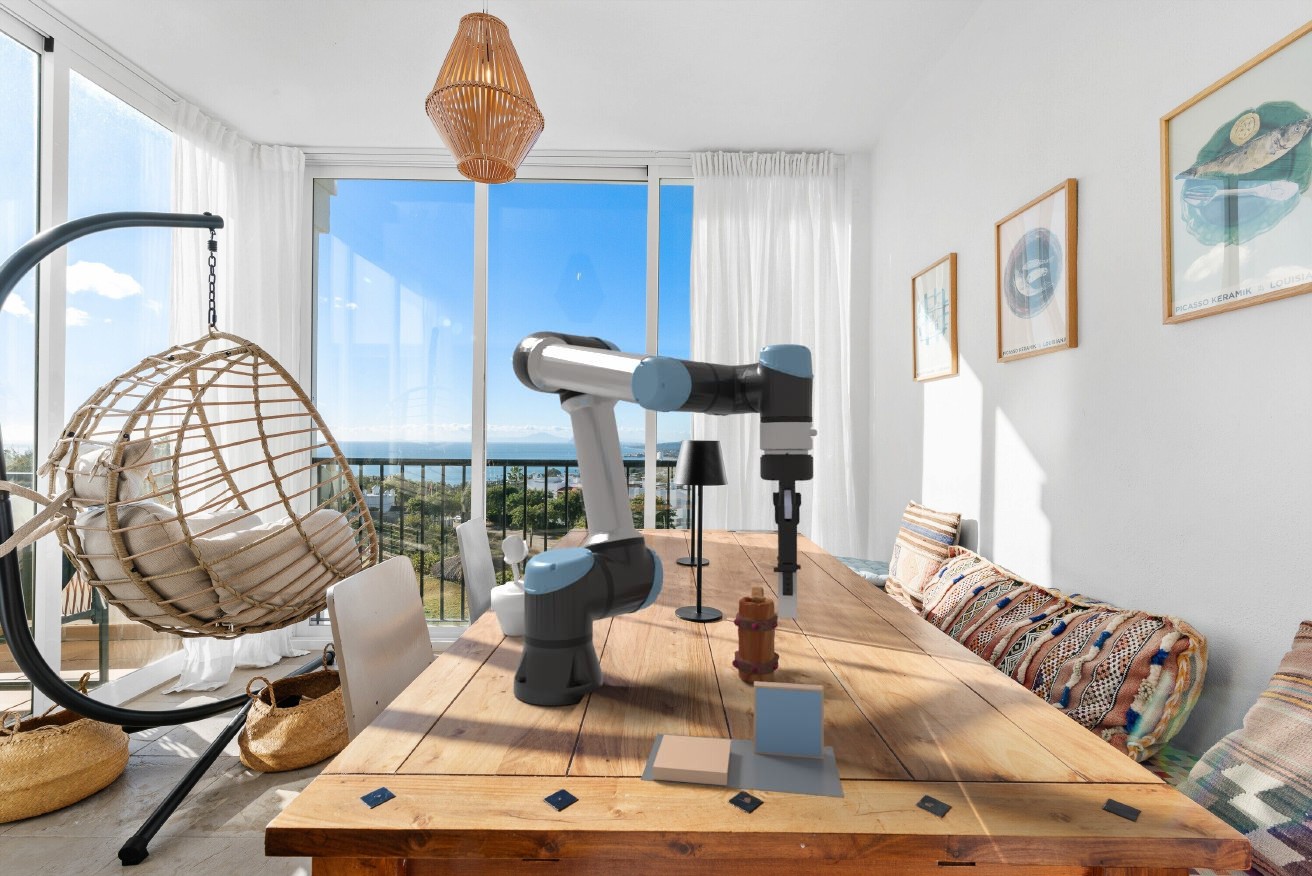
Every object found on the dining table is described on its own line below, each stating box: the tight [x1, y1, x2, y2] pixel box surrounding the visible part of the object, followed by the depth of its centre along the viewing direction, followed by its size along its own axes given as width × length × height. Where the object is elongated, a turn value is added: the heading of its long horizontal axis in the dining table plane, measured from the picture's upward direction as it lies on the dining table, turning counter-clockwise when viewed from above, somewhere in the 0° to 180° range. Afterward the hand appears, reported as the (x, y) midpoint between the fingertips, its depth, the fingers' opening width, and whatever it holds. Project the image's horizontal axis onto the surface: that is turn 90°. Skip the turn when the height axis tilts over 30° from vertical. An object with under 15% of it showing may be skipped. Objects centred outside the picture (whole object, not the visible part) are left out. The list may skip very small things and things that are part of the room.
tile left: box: [653, 734, 731, 785], centre depth 85 cm, size 9×2×9 cm
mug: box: [731, 586, 780, 684], centre depth 122 cm, size 15×8×15 cm, turn 168°
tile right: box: [753, 681, 825, 759], centre depth 88 cm, size 9×2×9 cm, turn 81°
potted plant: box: [490, 525, 540, 637], centre depth 148 cm, size 13×12×25 cm
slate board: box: [640, 733, 844, 799], centre depth 86 cm, size 24×13×1 cm, turn 81°
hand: (787, 616), depth 96 cm, fingers closed
